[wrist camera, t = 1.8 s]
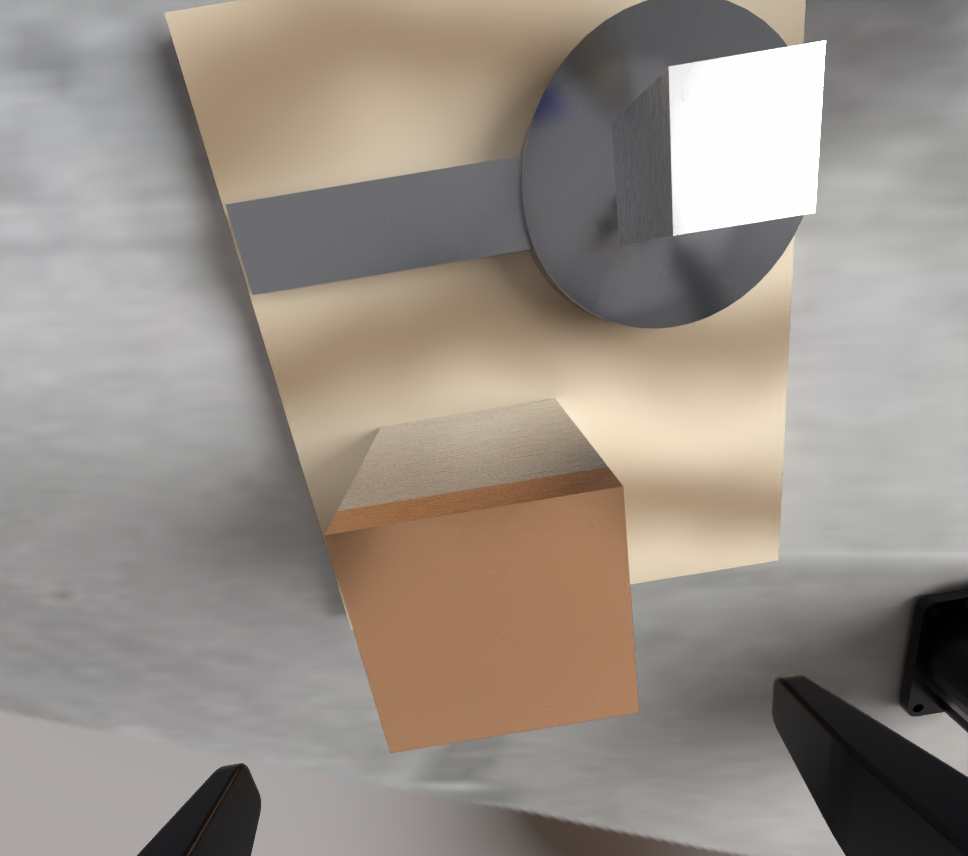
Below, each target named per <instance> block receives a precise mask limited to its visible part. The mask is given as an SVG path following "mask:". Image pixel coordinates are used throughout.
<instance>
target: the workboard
mask: <svg viewBox="0 0 968 856" xmlns="http://www.w3.org/2000/svg"><path fill="white" fill-rule="evenodd" d="M643 1H646V0H237V1H231V2H225V3H219V4H213V5H207V6H201V7H195V8H189V9H183V10H177V11H171V12H165V13H164V14H165V17H166V20H167V23H168V27H169V30H170V33H171V37H172V40H173V43H174V47H175V50H176V53H177V57H178V60H179V63H180V66H181V70H182V73H183V76H184V80H185V83H186V86H187V90H188V93H189V96H190V100H191V103H192V106H193V109H194V113H195V116H196V119H197V123H198V126H199V129H200V133H201V136H202V139H203V143H204V146H205V149H206V152H207V156H208V159H209V162H210V166H211V169H212V172H213V176H214V179H215V182H216V185H217V189H218V192H219V195H220V199H221V202H222V205H223V209H224V212H225V215H226V219H227V222H228V225H229V228H230V232H231V235H232V238H233V242H234V245H235V248H236V252H237V255H238V258H239V262H240V265H241V268H242V271H243V275H244V278H245V281H246V285H247V288H248V291H249V295H250V298H251V301H252V305H253V308H254V311H255V314H256V318H257V321H258V324H259V328H260V331H261V334H262V338H263V341H264V344H265V347H266V351H267V354H268V357H269V361H270V364H271V367H272V371H273V374H274V377H275V381H276V384H277V387H278V390H279V394H280V397H281V400H282V404H283V407H284V410H285V414H286V417H287V420H288V424H289V427H290V430H291V433H292V437H293V440H294V443H295V447H296V450H297V453H298V457H299V460H300V463H301V467H302V470H303V473H304V476H305V480H306V483H307V486H308V490H309V493H310V496H311V500H312V503H313V506H314V509H315V513H316V516H317V519H318V523H319V526H320V529H321V533H322V536H323V539H324V543H325V546H326V549H327V552H328V556H329V559H330V562H331V566H332V569H333V572H334V576H335V579H336V582H337V586H338V589H339V592H340V595H341V599H342V602H343V605H344V609H345V612H346V615H347V619H348V622H349V625H350V629H351V630H353V627H352V624H351V621H350V617H349V614H348V611H347V607H346V604H345V601H344V597H343V594H342V591H341V587H340V584H339V581H338V577H337V574H336V571H335V567H334V564H333V561H332V557H331V554H330V551H329V548H328V544H327V541H326V538H325V534H326V532H327V530H328V528H329V526H330V524H331V522H332V520H333V518H334V516H335V515H336V513H337V511H338V509H339V507H340V505H341V503H342V501H343V499H344V497H345V495H346V493H347V491H348V489H349V487H350V486H351V484H352V482H353V480H354V478H355V476H356V474H357V472H358V470H359V468H360V466H361V464H362V462H363V460H364V459H365V457H366V455H367V453H368V451H369V449H370V447H371V445H372V443H373V441H374V439H375V437H376V435H377V433H378V432H379V430H380V428H381V427H383V426H389V425H395V424H401V423H408V422H414V421H420V420H426V419H432V418H438V417H444V416H450V415H456V414H462V413H468V412H475V411H481V410H487V409H493V408H499V407H505V406H511V405H517V404H523V403H529V402H536V401H542V400H548V399H554V398H555V399H556V400H557V401H558V402H559V404H560V405H561V406H562V408H563V409H564V410H565V411H566V413H567V414H568V415H569V417H570V418H571V419H572V420H573V422H574V423H575V424H576V426H577V427H578V428H579V430H580V431H581V432H582V433H583V435H584V436H585V437H586V439H587V440H588V441H589V442H590V444H591V445H592V446H593V448H594V449H595V450H596V451H597V453H598V454H599V455H600V457H601V458H602V459H603V461H604V462H605V463H606V464H607V466H608V467H609V468H610V470H611V471H612V472H613V473H614V475H615V476H616V477H617V479H618V480H619V481H620V482H621V484H622V485H623V487H624V502H625V516H626V531H627V545H628V560H629V575H630V584H637V583H643V582H649V581H655V580H661V579H667V578H673V577H679V576H686V575H692V574H698V573H704V572H710V571H716V570H722V569H728V568H735V567H741V566H747V565H753V564H759V563H765V562H771V561H777V560H778V557H779V537H780V517H781V496H782V476H783V455H784V435H785V414H786V394H787V374H788V353H789V333H790V312H791V292H792V271H793V251H794V237H793V238H792V240H791V242H790V243H789V245H788V247H787V248H786V250H785V251H784V253H783V255H782V256H781V257H780V259H779V260H778V261H777V262H776V264H775V265H774V266H773V268H772V269H771V270H770V271H769V272H768V273H767V275H766V276H765V277H764V278H763V279H762V280H761V281H760V282H759V283H758V284H757V285H756V286H755V287H754V288H752V289H751V290H750V291H749V292H748V293H746V294H745V295H744V296H743V297H742V298H740V299H739V300H737V301H736V302H734V303H733V304H731V305H730V306H728V307H727V308H725V309H723V310H721V311H719V312H717V313H715V314H713V315H711V316H710V317H707V318H704V319H702V320H699V321H696V322H693V323H690V324H685V325H681V326H677V327H670V328H659V329H652V328H637V327H631V326H626V325H621V324H618V323H615V322H611V321H608V320H605V319H602V318H599V317H596V316H593V315H591V314H589V313H587V312H585V311H583V310H581V309H579V308H577V307H576V306H574V305H573V304H571V303H570V302H568V301H567V300H565V299H564V298H563V297H562V296H561V295H560V294H559V293H558V292H557V291H556V290H555V289H553V287H552V286H551V285H550V284H549V283H548V281H547V280H546V279H545V278H544V277H543V275H542V274H541V272H540V271H539V269H538V267H537V266H536V264H535V263H534V261H533V259H532V257H531V254H530V252H529V251H523V252H517V253H511V254H504V255H498V256H492V257H486V258H480V259H474V260H468V261H462V262H456V263H450V264H444V265H438V266H432V267H426V268H419V269H413V270H407V271H401V272H395V273H389V274H383V275H377V276H371V277H365V278H359V279H353V280H347V281H341V282H334V283H328V284H322V285H316V286H310V287H304V288H298V289H292V290H286V291H280V292H274V293H268V294H259V295H252V292H251V289H250V285H249V282H248V279H247V275H246V272H245V269H244V265H243V262H242V259H241V255H240V252H239V249H238V245H237V242H236V239H235V235H234V232H233V229H232V225H231V222H230V219H229V215H228V212H227V209H226V205H225V204H231V203H237V202H243V201H249V200H255V199H262V198H268V197H274V196H280V195H286V194H292V193H298V192H304V191H310V190H316V189H322V188H328V187H334V186H340V185H346V184H352V183H358V182H364V181H371V180H377V179H383V178H389V177H395V176H401V175H407V174H413V173H419V172H425V171H431V170H437V169H443V168H449V167H455V166H461V165H467V164H474V163H480V162H486V161H492V160H498V159H504V158H510V157H516V156H520V152H521V148H522V145H523V141H524V138H525V135H526V131H527V129H528V126H529V124H530V122H531V119H532V117H533V115H534V112H535V110H536V108H537V106H538V104H539V101H540V99H541V97H542V95H543V93H544V91H545V89H546V87H547V86H548V84H549V82H550V80H551V79H552V77H553V75H554V73H555V72H556V70H557V69H558V68H559V66H560V65H561V64H562V62H563V61H564V60H565V58H566V57H567V56H568V54H569V53H570V52H571V51H572V50H573V49H574V48H575V47H576V46H577V45H578V44H579V42H580V41H581V40H582V39H583V38H584V37H585V36H586V35H588V34H589V33H590V32H591V31H593V30H594V29H595V28H596V27H598V26H599V25H600V24H601V23H603V22H604V21H605V20H607V19H609V18H610V17H612V16H614V15H615V14H617V13H619V12H620V11H622V10H624V9H626V8H629V7H631V6H633V5H636V4H638V3H641V2H643ZM727 1H730V2H732V3H734V4H736V5H739V6H741V7H743V8H745V9H747V10H749V11H750V12H752V13H753V14H755V15H756V16H758V17H759V18H761V19H762V20H764V21H765V22H766V23H767V24H768V25H769V26H770V27H771V28H772V29H773V30H775V31H776V32H777V33H778V34H779V35H780V37H781V38H782V39H783V40H784V42H785V43H786V44H787V46H788V47H789V46H795V45H801V44H804V26H805V6H806V0H727Z"/></svg>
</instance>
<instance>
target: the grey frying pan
mask: <svg viewBox="0 0 968 856" xmlns="http://www.w3.org/2000/svg"><path fill="white" fill-rule="evenodd" d="M825 47H826V41H820V42H814V43H807V44H801V45H795V46H789V47H788V46H787V44H786V43H785V42H784V40H783V39H782V38H781V37H780V35H779V34H778V33H777V32H776V31H775V30H773V29H772V28H771V27H770V26H769V25H768V24H767V23H766V22H765V21H764V20H762V19H761V18H759V17H758V16H756V15H755V14H753V13H752V12H750V11H749V10H747V9H745V8H743V7H741V6H739V5H736V4H734V3H732V2H730V1H727V0H646V1H643V2H641V3H638V4H636V5H633V6H631V7H629V8H626V9H624V10H622V11H620V12H619V13H617V14H615V15H614V16H612V17H610V18H609V19H607V20H605V21H604V22H603V23H601V24H600V25H599V26H598V27H596V28H595V29H594V30H593V31H591V32H590V33H589V34H588V35H586V36H585V37H584V38H583V39H582V40H581V41H580V42H579V44H578V45H577V46H576V47H575V48H574V49H573V50H572V51H571V52H570V53H569V54H568V56H567V57H566V58H565V60H564V61H563V62H562V64H561V65H560V66H559V68H558V69H557V70H556V72H555V73H554V75H553V77H552V79H551V80H550V82H549V84H548V86H547V87H546V89H545V91H544V93H543V95H542V97H541V99H540V101H539V104H538V106H537V108H536V110H535V112H534V115H533V117H532V119H531V122H530V124H529V126H528V129H527V131H526V135H525V138H524V141H523V145H522V148H521V152H520V156H516V157H510V158H504V159H498V160H492V161H486V162H480V163H474V164H467V165H461V166H455V167H449V168H443V169H437V170H431V171H425V172H419V173H413V174H407V175H401V176H395V177H389V178H383V179H377V180H371V181H364V182H358V183H352V184H346V185H340V186H334V187H328V188H322V189H316V190H310V191H304V192H298V193H292V194H286V195H280V196H274V197H268V198H262V199H255V200H249V201H243V202H237V203H231V204H225V205H226V209H227V212H228V215H229V219H230V222H231V225H232V229H233V232H234V235H235V239H236V242H237V245H238V249H239V252H240V255H241V259H242V262H243V265H244V269H245V272H246V275H247V279H248V282H249V285H250V289H251V292H252V295H259V294H268V293H274V292H280V291H286V290H292V289H298V288H304V287H310V286H316V285H322V284H328V283H334V282H341V281H347V280H353V279H359V278H365V277H371V276H377V275H383V274H389V273H395V272H401V271H407V270H413V269H419V268H426V267H432V266H438V265H444V264H450V263H456V262H462V261H468V260H474V259H480V258H486V257H492V256H498V255H504V254H511V253H517V252H523V251H529V252H530V254H531V257H532V259H533V261H534V263H535V264H536V266H537V267H538V269H539V271H540V272H541V274H542V275H543V277H544V278H545V279H546V280H547V281H548V283H549V284H550V285H551V286H552V287H553V289H555V290H556V291H557V292H558V293H559V294H560V295H561V296H562V297H563V298H564V299H565V300H567V301H568V302H570V303H571V304H573V305H574V306H576V307H577V308H579V309H581V310H583V311H585V312H587V313H589V314H591V315H593V316H596V317H599V318H602V319H605V320H608V321H611V322H615V323H618V324H621V325H626V326H631V327H637V328H652V329H659V328H670V327H677V326H681V325H685V324H690V323H693V322H696V321H699V320H702V319H704V318H707V317H710V316H711V315H713V314H715V313H717V312H719V311H721V310H723V309H725V308H727V307H728V306H730V305H731V304H733V303H734V302H736V301H737V300H739V299H740V298H742V297H743V296H744V295H745V294H746V293H748V292H749V291H750V290H751V289H752V288H754V287H755V286H756V285H757V284H758V283H759V282H760V281H761V280H762V279H763V278H764V277H765V276H766V275H767V273H768V272H769V271H770V270H771V269H772V268H773V266H774V265H775V264H776V262H777V261H778V260H779V259H780V257H781V256H782V255H783V253H784V251H785V250H786V248H787V247H788V245H789V243H790V242H791V240H792V238H793V237H794V235H795V233H796V230H797V228H798V226H799V224H800V222H801V220H802V218H803V215H804V214H810V213H815V210H816V194H817V178H818V161H819V145H820V129H821V112H822V96H823V80H824V63H825Z"/></svg>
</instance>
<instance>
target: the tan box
mask: <svg viewBox="0 0 968 856" xmlns="http://www.w3.org/2000/svg"><path fill="white" fill-rule="evenodd" d="M325 538H326V541H327V544H328V548H329V551H330V554H331V557H332V561H333V564H334V567H335V571H336V574H337V577H338V581H339V584H340V587H341V591H342V594H343V597H344V601H345V604H346V607H347V611H348V614H349V617H350V621H351V624H352V627H353V631H354V634H355V637H356V641H357V644H358V647H359V651H360V654H361V657H362V661H363V664H364V667H365V671H366V674H367V677H368V681H369V684H370V687H371V691H372V694H373V697H374V701H375V704H376V707H377V711H378V714H379V717H380V721H381V724H382V727H383V731H384V734H385V737H386V741H387V744H388V747H389V750H390V753H395V752H401V751H407V750H413V749H419V748H425V747H431V746H438V745H444V744H450V743H456V742H462V741H468V740H474V739H481V738H487V737H493V736H499V735H505V734H511V733H517V732H524V731H530V730H536V729H542V728H548V727H554V726H560V725H567V724H573V723H579V722H585V721H591V720H597V719H603V718H610V717H616V716H622V715H628V714H634V713H639V706H638V691H637V677H636V662H635V648H634V633H633V618H632V604H631V589H630V575H629V560H628V545H627V531H626V516H625V502H624V487H623V485H622V484H621V482H620V481H619V480H618V479H617V477H616V476H615V475H614V473H613V472H612V471H611V470H610V468H609V467H608V466H607V464H606V463H605V462H604V461H603V459H602V458H601V457H600V455H599V454H598V453H597V451H596V450H595V449H594V448H593V446H592V445H591V444H590V442H589V441H588V440H587V439H586V437H585V436H584V435H583V433H582V432H581V431H580V430H579V428H578V427H577V426H576V424H575V423H574V422H573V420H572V419H571V418H570V417H569V415H568V414H567V413H566V411H565V410H564V409H563V408H562V406H561V405H560V404H559V402H558V401H557V400H556V399H555V398H554V399H548V400H542V401H536V402H529V403H523V404H517V405H511V406H505V407H499V408H493V409H487V410H481V411H475V412H468V413H462V414H456V415H450V416H444V417H438V418H432V419H426V420H420V421H414V422H408V423H401V424H395V425H389V426H383V427H381V428H380V430H379V432H378V433H377V435H376V437H375V439H374V441H373V443H372V445H371V447H370V449H369V451H368V453H367V455H366V457H365V459H364V460H363V462H362V464H361V466H360V468H359V470H358V472H357V474H356V476H355V478H354V480H353V482H352V484H351V486H350V487H349V489H348V491H347V493H346V495H345V497H344V499H343V501H342V503H341V505H340V507H339V509H338V511H337V513H336V515H335V516H334V518H333V520H332V522H331V524H330V526H329V528H328V530H327V532H326V534H325Z"/></svg>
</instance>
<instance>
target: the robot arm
mask: <svg viewBox="0 0 968 856" xmlns="http://www.w3.org/2000/svg"><path fill="white" fill-rule="evenodd" d="M900 706H901V707H902V708H903V709H904V710H905V711H906V712H907V713H908V714H909V715H911V716H922V715H928V714H934V713H940V712H946V713H947V714H948V715H949V716H950V717H951V718H952V719H953V720H954V721H956V722H957V723H958V724H959V725H960V726H961V727H962V728H963V729H964V730H966V731H967V732H968V590H963V591H957V592H951V593H945V594H939V595H933V596H927V597H924V598H922V599H921V600H920V601H919V602H918V603H917V604H916V607H915V612H914V619H913V625H912V631H911V637H910V643H909V649H908V656H907V662H906V668H905V674H904V680H903V686H902V693H901V699H900ZM772 716H773V720H774V723H775V726H776V728H777V730H778V732H779V734H780V736H781V738H782V740H783V742H784V744H785V746H786V747H787V749H788V751H789V753H790V755H791V757H792V759H793V761H794V763H795V764H796V766H797V768H798V770H799V772H800V774H801V776H802V778H803V780H804V782H805V783H806V785H807V787H808V789H809V791H810V793H811V795H812V797H813V799H814V801H815V802H816V804H817V806H818V808H819V810H820V812H821V814H822V816H823V818H824V819H825V821H826V823H827V825H828V827H829V828H830V830H831V832H832V834H833V836H834V837H835V839H836V841H837V842H838V844H839V846H840V847H841V849H842V850H843V852H844V854H845V855H846V856H968V777H967V776H965V775H964V774H962V773H961V772H959V771H957V770H956V769H954V768H952V767H951V766H949V765H948V764H946V763H944V762H943V761H941V760H940V759H938V758H936V757H935V756H933V755H932V754H930V753H928V752H927V751H925V750H923V749H922V748H920V747H919V746H917V745H915V744H914V743H912V742H911V741H909V740H907V739H906V738H904V737H902V736H901V735H899V734H898V733H896V732H894V731H893V730H891V729H890V728H888V727H886V726H885V725H883V724H881V723H880V722H878V721H877V720H875V719H873V718H872V717H870V716H869V715H867V714H865V713H864V712H862V711H861V710H859V709H857V708H856V707H854V706H852V705H851V704H849V703H848V702H846V701H844V700H843V699H841V698H840V697H838V696H836V695H835V694H833V693H831V692H830V691H828V690H827V689H825V688H823V687H822V686H820V685H819V684H817V683H815V682H814V681H812V680H810V679H809V678H807V677H805V676H803V675H801V674H792V675H786V676H779V677H777V678H776V679H775V680H774V684H773V703H772ZM260 811H261V798H260V794H259V791H258V789H257V787H256V784H255V782H254V780H253V778H252V775H251V773H250V771H249V769H248V767H247V766H246V765H245V764H243V763H240V764H234V765H228V766H223V767H220V768H219V769H217V770H216V771H215V772H214V773H213V774H212V775H211V776H210V777H209V778H208V779H207V781H205V783H204V784H203V785H202V786H201V787H200V788H199V789H198V790H197V791H196V792H195V793H194V795H193V796H192V797H191V798H190V799H189V800H188V801H187V802H186V803H185V804H184V805H183V806H182V807H181V808H180V810H179V811H178V812H177V813H176V814H175V815H174V816H173V817H172V818H171V819H170V820H169V822H167V824H166V825H165V826H164V827H163V828H162V829H161V830H160V831H159V832H158V833H157V834H156V835H155V837H154V838H153V839H152V840H151V841H150V842H149V843H148V844H147V845H146V846H145V847H144V848H143V849H142V851H141V852H140V853H139V854H138V855H137V856H251V852H252V848H253V843H254V839H255V834H256V829H257V825H258V821H259V816H260Z"/></svg>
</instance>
